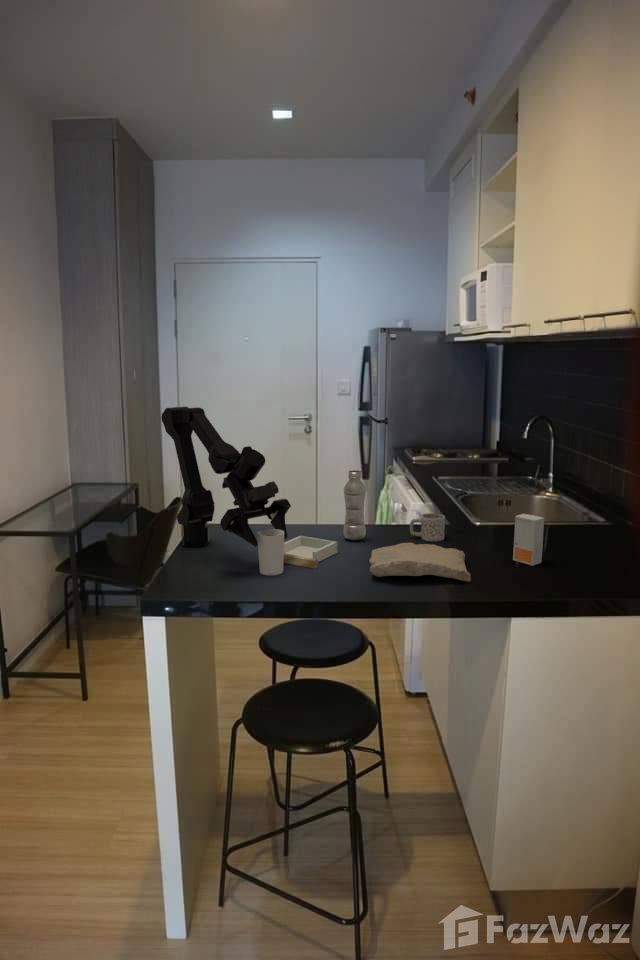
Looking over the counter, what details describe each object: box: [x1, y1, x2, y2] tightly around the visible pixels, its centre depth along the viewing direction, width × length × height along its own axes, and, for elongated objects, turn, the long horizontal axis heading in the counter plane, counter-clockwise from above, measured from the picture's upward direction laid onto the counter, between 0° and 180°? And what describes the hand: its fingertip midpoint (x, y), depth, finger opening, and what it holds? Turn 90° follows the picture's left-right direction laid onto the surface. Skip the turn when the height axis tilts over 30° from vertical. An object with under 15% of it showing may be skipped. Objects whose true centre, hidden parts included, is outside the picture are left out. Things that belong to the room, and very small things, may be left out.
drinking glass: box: [256, 528, 285, 576], centre depth 164 cm, size 7×7×10 cm
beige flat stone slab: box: [368, 542, 472, 583], centre depth 163 cm, size 24×8×20 cm
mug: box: [409, 512, 446, 542], centre depth 193 cm, size 10×7×7 cm
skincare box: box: [512, 513, 545, 567], centre depth 170 cm, size 6×4×12 cm
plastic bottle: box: [343, 469, 367, 541], centre depth 191 cm, size 6×7×20 cm
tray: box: [284, 535, 339, 563], centre depth 178 cm, size 12×12×3 cm
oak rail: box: [283, 553, 319, 569], centre depth 171 cm, size 16×2×2 cm, turn 58°
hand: (271, 542), depth 163 cm, fingers open, 9 cm apart
